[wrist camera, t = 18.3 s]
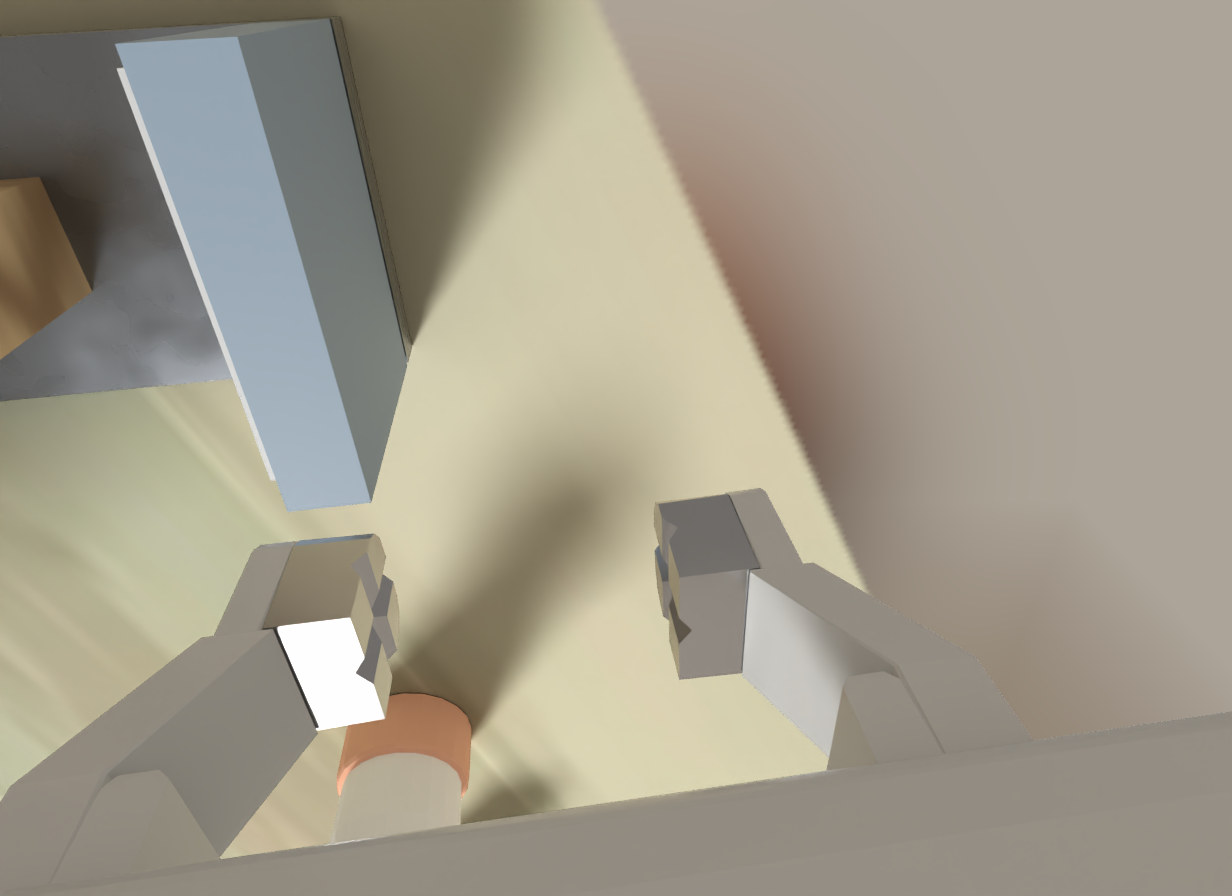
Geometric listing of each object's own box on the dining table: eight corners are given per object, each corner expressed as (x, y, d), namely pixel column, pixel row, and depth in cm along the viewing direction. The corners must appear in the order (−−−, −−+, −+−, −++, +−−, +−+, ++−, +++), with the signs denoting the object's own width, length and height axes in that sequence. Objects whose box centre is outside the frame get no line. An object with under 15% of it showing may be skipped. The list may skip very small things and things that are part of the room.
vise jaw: (330, 372, 29) (266, 514, 21) (229, 24, 22) (83, 45, 15) (407, 365, 29) (371, 502, 21) (329, 18, 23) (237, 36, 15)
